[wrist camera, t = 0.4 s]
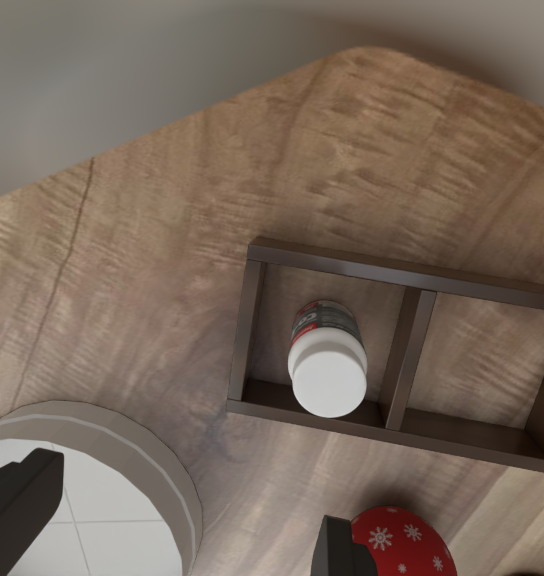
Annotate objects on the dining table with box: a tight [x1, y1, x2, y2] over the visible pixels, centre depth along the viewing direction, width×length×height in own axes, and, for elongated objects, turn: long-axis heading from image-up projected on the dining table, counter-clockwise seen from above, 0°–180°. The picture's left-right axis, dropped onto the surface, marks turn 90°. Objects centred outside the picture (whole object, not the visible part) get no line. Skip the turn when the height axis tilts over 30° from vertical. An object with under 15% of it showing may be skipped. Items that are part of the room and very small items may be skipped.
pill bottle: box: [288, 300, 367, 418], centre depth 26 cm, size 5×5×8 cm
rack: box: [226, 237, 544, 472], centre depth 28 cm, size 12×23×4 cm, turn 81°
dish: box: [0, 400, 203, 576], centre depth 34 cm, size 22×22×5 cm
